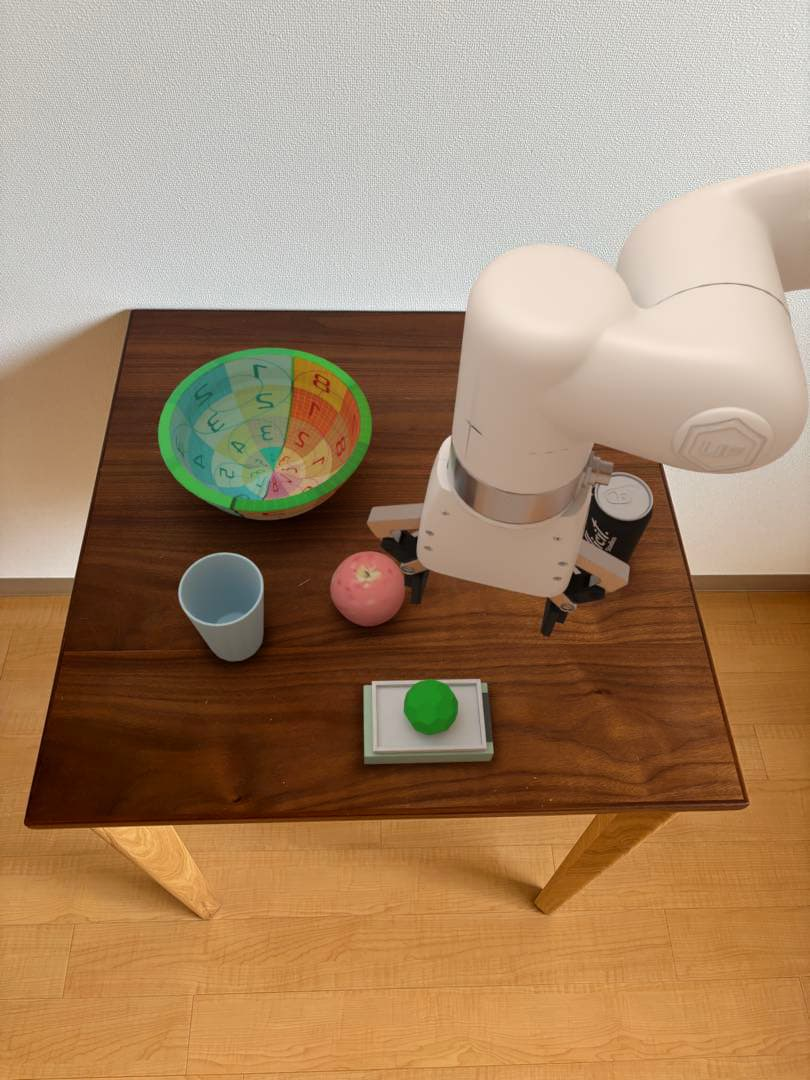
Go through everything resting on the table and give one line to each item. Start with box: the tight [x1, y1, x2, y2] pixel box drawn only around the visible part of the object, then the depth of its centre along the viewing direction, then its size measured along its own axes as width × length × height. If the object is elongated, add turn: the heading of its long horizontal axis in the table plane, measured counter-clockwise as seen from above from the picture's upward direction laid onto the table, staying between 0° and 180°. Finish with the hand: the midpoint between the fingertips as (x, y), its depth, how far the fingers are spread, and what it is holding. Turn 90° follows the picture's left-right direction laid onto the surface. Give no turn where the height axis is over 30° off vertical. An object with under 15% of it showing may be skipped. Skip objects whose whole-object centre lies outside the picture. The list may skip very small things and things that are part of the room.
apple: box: [329, 550, 406, 627], centre depth 82 cm, size 7×7×8 cm
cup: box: [178, 552, 265, 662], centre depth 79 cm, size 8×8×10 cm
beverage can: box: [575, 471, 654, 573], centre depth 85 cm, size 7×7×12 cm
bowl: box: [157, 347, 373, 521], centre depth 90 cm, size 22×22×10 cm
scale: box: [363, 678, 495, 765], centre depth 77 cm, size 12×7×4 cm, turn 92°
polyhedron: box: [403, 678, 458, 735], centre depth 74 cm, size 5×5×5 cm
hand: (483, 603), depth 60 cm, fingers open, 9 cm apart
